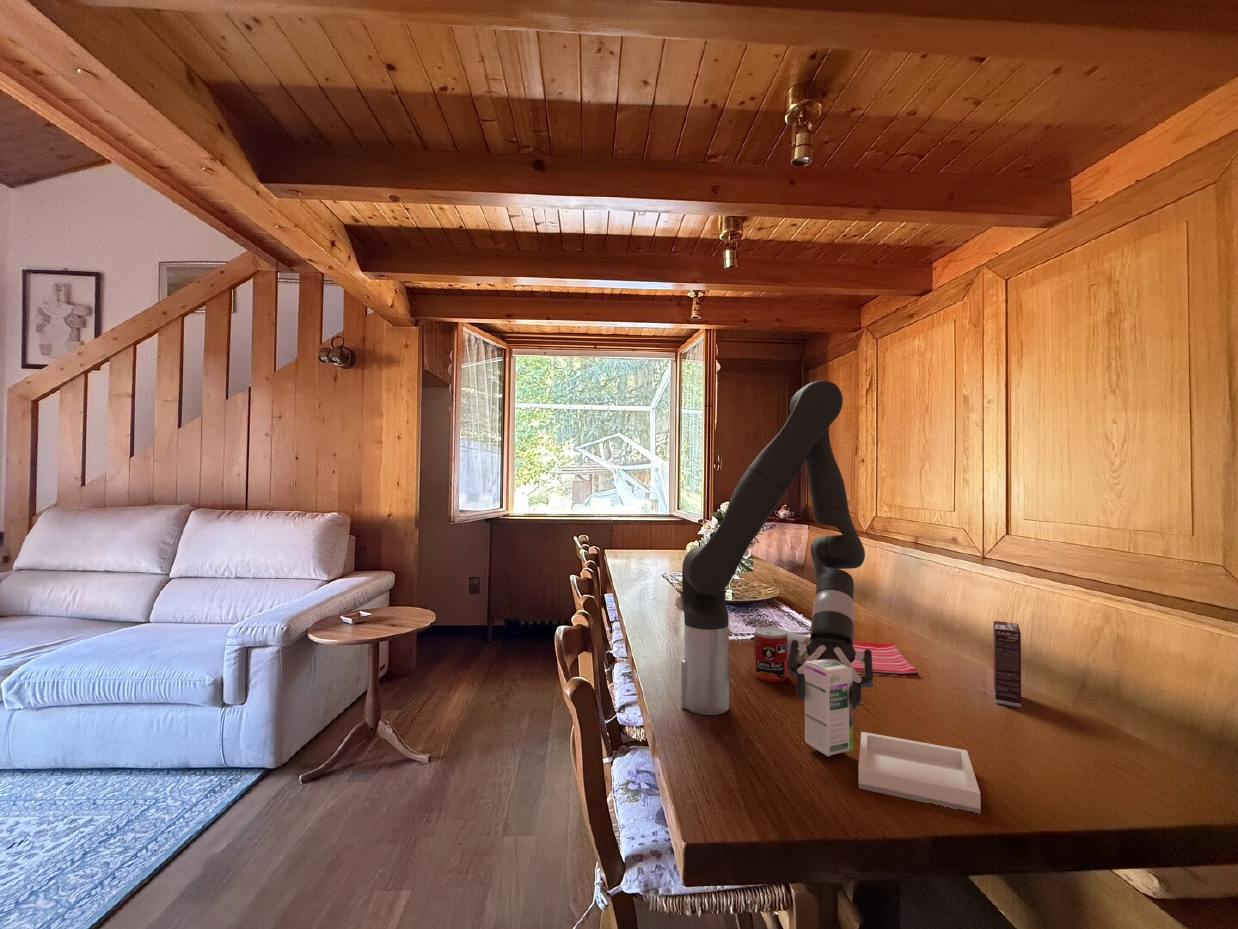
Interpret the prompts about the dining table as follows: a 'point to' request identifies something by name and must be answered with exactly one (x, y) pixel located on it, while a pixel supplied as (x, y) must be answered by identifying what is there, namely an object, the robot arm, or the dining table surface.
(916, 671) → the dish towel
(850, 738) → the syrup box
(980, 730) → the dining table surface
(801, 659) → the ceramic mug
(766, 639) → the canned food
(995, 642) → the supplement box
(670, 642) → the dining table surface
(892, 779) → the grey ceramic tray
